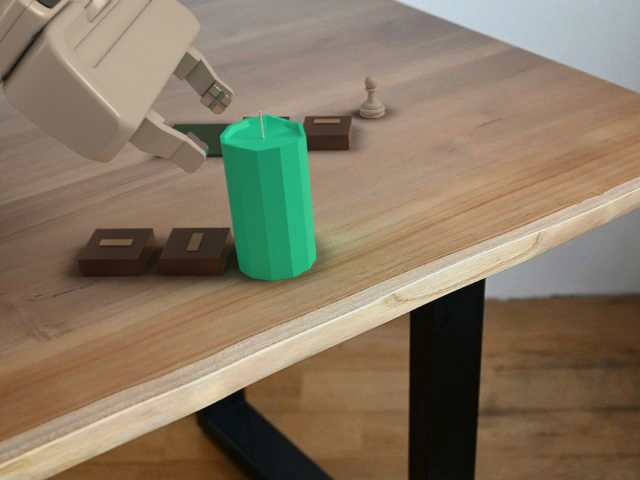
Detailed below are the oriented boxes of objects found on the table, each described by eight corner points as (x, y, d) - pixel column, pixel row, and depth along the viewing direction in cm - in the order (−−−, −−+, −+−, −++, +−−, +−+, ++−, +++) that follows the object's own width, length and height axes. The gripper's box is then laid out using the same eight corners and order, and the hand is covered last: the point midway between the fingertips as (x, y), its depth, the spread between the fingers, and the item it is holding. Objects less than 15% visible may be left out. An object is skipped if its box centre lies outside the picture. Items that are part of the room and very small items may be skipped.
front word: (81, 276, 67) (76, 258, 67) (99, 244, 71) (95, 227, 70) (222, 275, 67) (219, 257, 66) (232, 243, 71) (230, 226, 70)
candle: (285, 289, 65) (268, 136, 59) (220, 267, 68) (197, 119, 61) (331, 249, 70) (320, 103, 63) (268, 231, 72) (252, 88, 66)
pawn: (382, 107, 93) (381, 69, 90) (387, 117, 90) (386, 79, 88) (357, 110, 92) (355, 72, 90) (361, 120, 90) (359, 82, 88)
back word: (237, 151, 85) (235, 135, 84) (244, 130, 89) (243, 115, 88) (349, 150, 84) (348, 134, 84) (352, 129, 88) (351, 114, 87)
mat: (158, 157, 84) (157, 154, 84) (174, 126, 90) (174, 124, 90) (231, 156, 84) (230, 153, 84) (243, 126, 90) (243, 123, 89)
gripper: (69, -17, 68) (216, 103, 73) (-50, 86, 51) (153, 234, 56) (116, -80, 66) (265, 48, 71) (7, 5, 48) (215, 167, 53)
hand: (215, 131), depth 63 cm, fingers open, 8 cm apart
